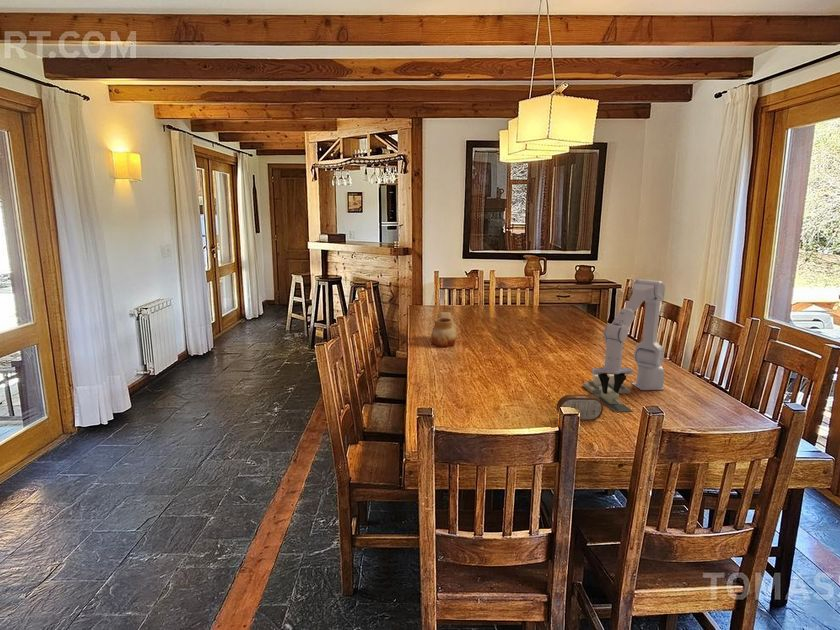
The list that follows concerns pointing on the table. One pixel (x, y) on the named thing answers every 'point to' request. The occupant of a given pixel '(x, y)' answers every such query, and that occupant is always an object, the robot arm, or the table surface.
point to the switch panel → (597, 388)
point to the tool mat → (614, 405)
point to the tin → (583, 405)
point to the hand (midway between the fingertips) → (610, 393)
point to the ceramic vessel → (444, 331)
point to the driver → (611, 397)
